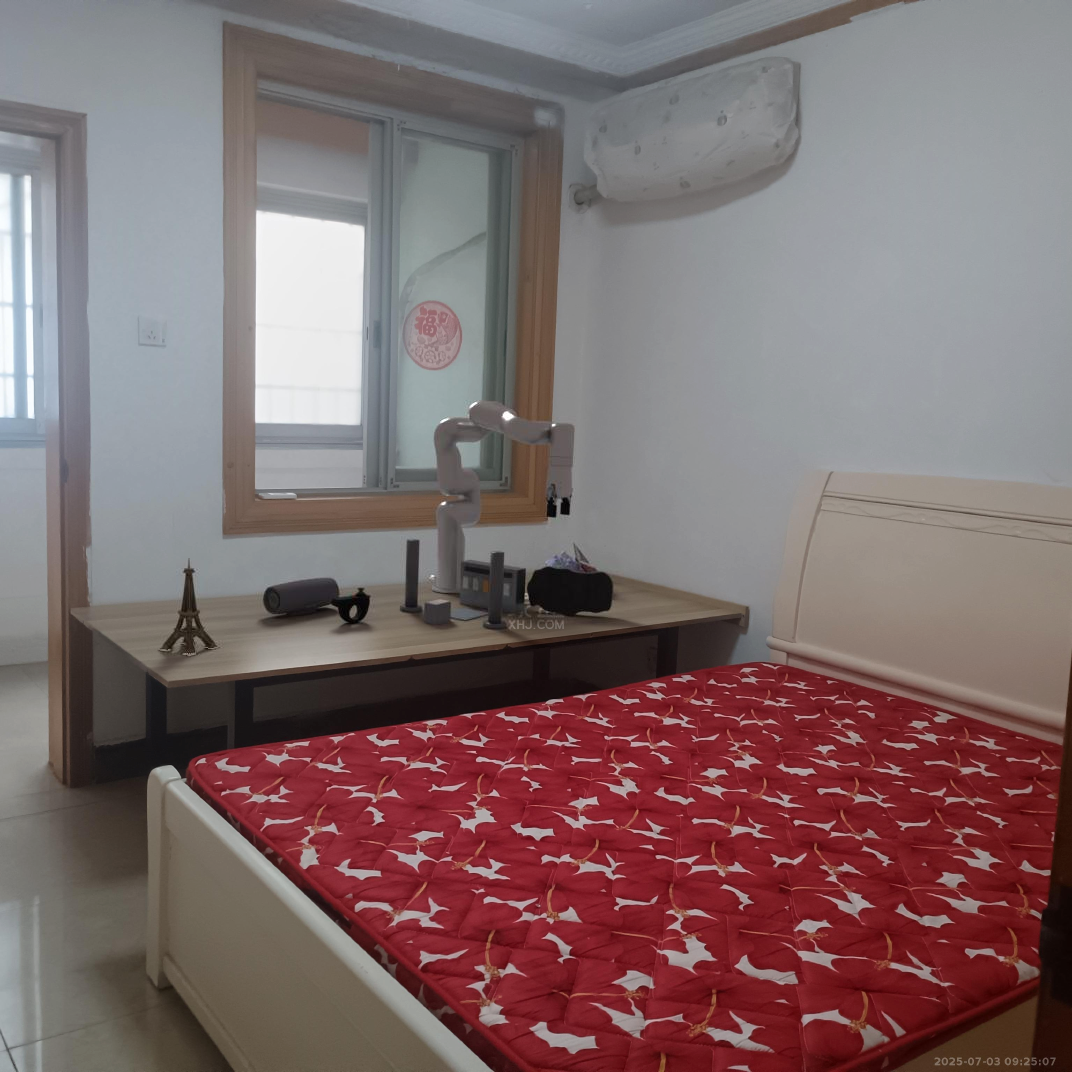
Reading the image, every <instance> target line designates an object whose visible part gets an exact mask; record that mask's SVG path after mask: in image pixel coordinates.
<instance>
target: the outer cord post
mask: <svg viewBox="0 0 1072 1072" xmlns="http://www.w3.org/2000/svg"><path fill="white" fill-rule="evenodd" d="M489 563H490V583H489V607H488V609H487V610H488V612H487V613H488V615H487V619H485V620H483V621H482V628H485V629H489V630H502V629H506V628H507V622H506V621H504V620H502V617H503V616H502V615H503V612H502V597H503V574H504V565H505V552H503V551H501V550H500V551H497V550H496V551H495V550H494V551H490V561H489Z"/></svg>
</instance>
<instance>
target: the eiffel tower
mask: <svg viewBox="0 0 1072 1072" xmlns="http://www.w3.org/2000/svg"><path fill="white" fill-rule="evenodd" d="M187 563H188V565H187V567H185V568H183V571H182V573H184V574H185V578H184V585H183V591H182V592H183V593H182V600H181V608H180V609H179V610H178V611H177V614H179V616H178V620H177V622H176V623H177V624H176V625H175V627H173V632H172V633H171V634H170V635H169V636H168V637H167V639H166V640H165V642H163V644H162V646H161V647H160V648H159V649H166V650H168V649H173V648H174V646H175V644H176V643H177V642H178V640H180V638H183V639H182V641H181V643H185V644H186V645H184V648H183V652H182V654H183V653H188V654H189V653H190V654H191V653H195V652H196V648H195V644H193V643H195V642H196V641H195V640H194V638H196V637H197V638H199V639H200V641H202V643H203V645H204V646H203V648H204V647H208V648H214V647H217V646H218V645H217V644H216V642H215V640H213V639H212V638H211V636H210V635H209V634H208V633H207V632H206V630H205V626H203V624H202V622H201V620H200V616H199V614H200V613H201V611H200V609H198V607H197V600H196V593H195V592H196V591H195V584H194V576H193V574H194V573H196V571H195V570H194V569H195V568H194V567H193V568H192V567H191V566H190V565H191V564H190V559H188V562H187ZM193 620H194V624H195V625H193ZM184 621H185V625H184Z"/></svg>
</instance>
